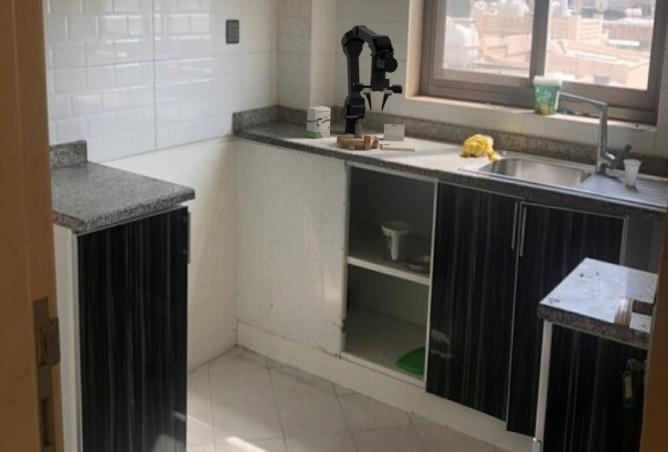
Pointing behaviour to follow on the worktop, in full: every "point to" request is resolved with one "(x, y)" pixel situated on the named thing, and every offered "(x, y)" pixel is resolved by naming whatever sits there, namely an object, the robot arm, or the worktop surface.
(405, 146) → the pad
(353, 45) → the robot arm
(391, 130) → the marked link
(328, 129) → the ink box
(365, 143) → the sprocket
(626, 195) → the worktop surface
